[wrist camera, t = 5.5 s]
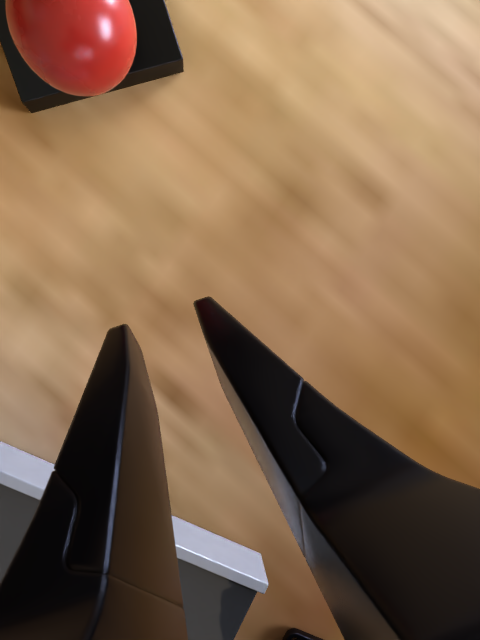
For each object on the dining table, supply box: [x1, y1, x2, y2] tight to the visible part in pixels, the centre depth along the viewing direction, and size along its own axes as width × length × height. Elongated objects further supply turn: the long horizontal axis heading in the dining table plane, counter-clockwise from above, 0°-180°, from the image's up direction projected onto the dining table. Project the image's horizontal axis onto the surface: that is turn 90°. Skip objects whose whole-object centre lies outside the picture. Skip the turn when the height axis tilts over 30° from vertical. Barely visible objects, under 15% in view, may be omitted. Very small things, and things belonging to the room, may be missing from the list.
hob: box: [0, 441, 269, 640], centre depth 21 cm, size 21×16×3 cm
